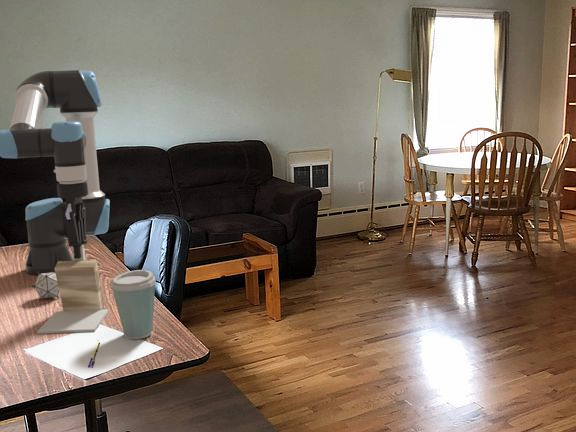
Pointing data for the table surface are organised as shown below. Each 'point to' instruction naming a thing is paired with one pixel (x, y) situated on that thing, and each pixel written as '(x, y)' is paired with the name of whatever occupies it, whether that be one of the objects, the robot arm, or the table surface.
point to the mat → (73, 321)
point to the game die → (46, 285)
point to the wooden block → (79, 285)
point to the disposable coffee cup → (135, 302)
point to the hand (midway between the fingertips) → (80, 268)
